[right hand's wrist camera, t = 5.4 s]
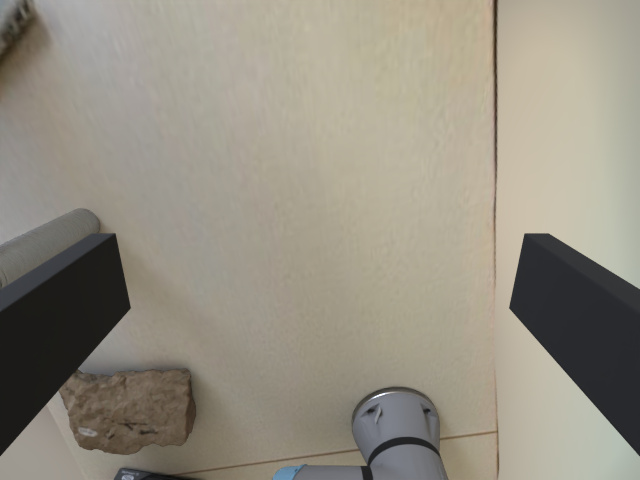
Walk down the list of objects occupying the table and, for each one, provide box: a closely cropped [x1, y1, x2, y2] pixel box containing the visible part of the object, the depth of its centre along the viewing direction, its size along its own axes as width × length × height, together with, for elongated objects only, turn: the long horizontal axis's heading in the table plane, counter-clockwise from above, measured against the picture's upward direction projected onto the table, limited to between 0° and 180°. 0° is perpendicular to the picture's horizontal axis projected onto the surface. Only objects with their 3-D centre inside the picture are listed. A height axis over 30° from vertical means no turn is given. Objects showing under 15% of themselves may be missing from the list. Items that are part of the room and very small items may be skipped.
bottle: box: [0, 209, 100, 289], centre depth 44 cm, size 4×4×23 cm
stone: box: [59, 369, 196, 455], centre depth 63 cm, size 21×15×6 cm
